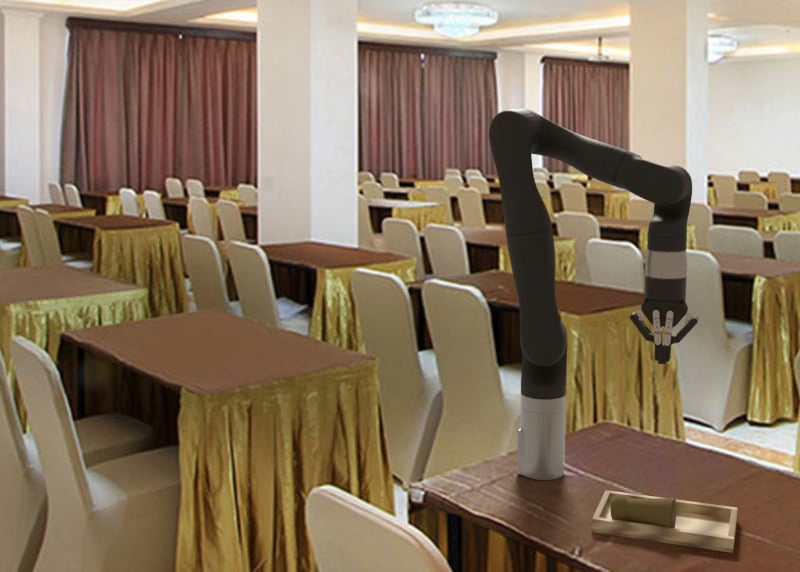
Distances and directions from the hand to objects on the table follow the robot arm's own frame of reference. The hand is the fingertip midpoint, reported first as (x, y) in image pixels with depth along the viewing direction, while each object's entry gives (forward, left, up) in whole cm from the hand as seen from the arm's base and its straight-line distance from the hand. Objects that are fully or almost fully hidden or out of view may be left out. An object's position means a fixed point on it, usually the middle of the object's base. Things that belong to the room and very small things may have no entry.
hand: (662, 363), depth 182 cm
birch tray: (+3, -13, -27) cm, 30 cm away
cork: (+5, -16, -23) cm, 29 cm away
